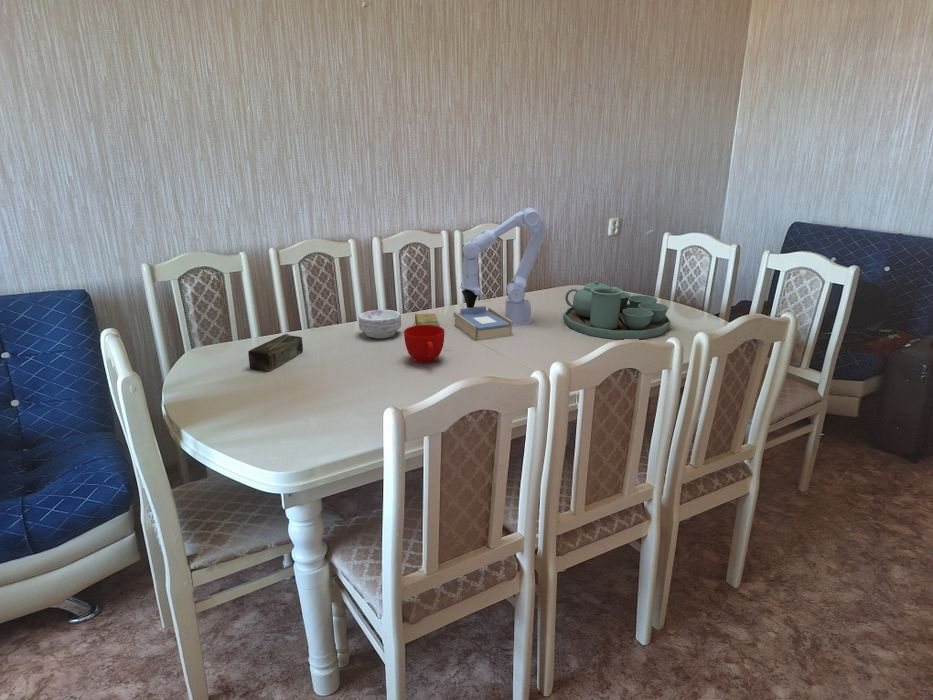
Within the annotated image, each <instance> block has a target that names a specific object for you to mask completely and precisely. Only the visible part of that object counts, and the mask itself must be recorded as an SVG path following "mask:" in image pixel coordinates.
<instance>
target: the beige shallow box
mask: <svg viewBox="0 0 933 700" xmlns="http://www.w3.org/2000/svg"><path fill="white" fill-rule="evenodd" d="M487 309H488V311H489V312H491V313H493V314H494V315H496V316H498V317H499V318H501V319H503V320H504V321H506V322H508V323H509V324H510V326H508V327H500V328H492V329H485V330H477V329H476V326H475V325H474V324H472V323H471V322H469V321H468V320H466V319H465V318H463V317H462V316H460V315H459V314H458V312H455V311H453V312H452V313H453V314H452V315H453V318H454V326H456V327H457V328H458V329H460V330H461V331H463V332H464V333H466V334H467V335H468V336H469V337H471V338H472V339H473V340H475V341H482V340H483V341H484V340H487V339H488V340H489V339H495V338H503V337H511V336H512V335H513V334H512V333H513V331H512V330H513V327H514V325H513V321H512V320H510V319H508V318H506V317H505V315H503V314H501V313H499V312H498V311H496V310H494V309H492V308H491V307H487Z"/></svg>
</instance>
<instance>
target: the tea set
mask: <svg viewBox="0 0 933 700" xmlns="http://www.w3.org/2000/svg"><path fill="white" fill-rule="evenodd" d="M583 287H584V288H580V289H577V288H571V289H569V290H568V291H567V292H566V294H565V298H564V299H565V302H566V304H567V305H568V308H567V309H566V311H565V312H564V313H563V316H562V320H563V321H564V324H566V325H567V327H569V328H570V330H573V331H576V332H579V333H581V334H583V335H587V336H591V337H599V338H605V339H609V340H610V339H613V340H642V339H648V338H652V337H659V336H661V335H662V334H664V333H665V332H666V331H668V330H670V329H669V328H670V327H671V320H670V319H669V317H668V315H667V312H668V310H669V309H670V308H669V306H668V305H666V304H664V303H659V302H658V298H656V297H654V296H651V295H646V294H643V295H640V294H638V295H635V294H633V295H630V294H629V293H628V292H624V290H623V289H621V288H618V287H617V286H609V285H607V284H606V283H602V282H599V280H596V281H594V282H588V283H586V284H584V285H583ZM572 292H574V293H575V294H574V295H573V299H572V303H571V302H570V301H569V295H570V293H572ZM628 301H629V303H628Z"/></svg>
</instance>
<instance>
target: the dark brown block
mask: <svg viewBox="0 0 933 700" xmlns="http://www.w3.org/2000/svg"><path fill="white" fill-rule="evenodd" d="M302 352H303V353H304V347H303V338H302V336H299V335H290V334H289V333H285V334H282V335H280V336H278V337H275V338H273V339H271V340H269V341H266V342H264V343H263V344H260V345H258V346H255V347H254V348H252V349H249V350H248V354H247V355H248V364H249V369H251V370H256V371H257V370H258V371H261V372H262V371H263V372H268V373H269V372H271V371H273V370H275V369H277V368H278V367H280V366H282V365H284V364H286V363H287V362H289V361H291V360H292V359H295V358H296V357H297V356H299V354H300V355H302V354H303V353H302Z"/></svg>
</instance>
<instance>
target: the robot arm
mask: <svg viewBox="0 0 933 700" xmlns="http://www.w3.org/2000/svg"><path fill="white" fill-rule="evenodd" d="M524 226H526V227H527V229H528V231H529V234H530V235H531V236H530V239H529V241H528V243H527V246H526V248H525V250H524V252H523V255H522V257H521V260H520V262H519V265H518V268H517V270H516V272H515V274H514V276H513V277H512V279H511V281H510V282H508V284H507V285H506V287H505V292H506V294H507V297H506V298H505V311H504V312H505V315H504V316H505V317H506V318H508V319H510V320H512V321H513V326H517V325H526V324H528V325H529V324H530V325H531V324H532V321H531V317H532V316H531V315H532V305H531V302H530V301H529V300H528V299H525V296H526V288H527V282H528V279H529V276H530V274H531V271H532V269H533V267H534V264H535V262H536V260H537V257H538V255H539V253H540V251H541V248H542V245H543V242H544V240H545V238H546V232H545V231H546V230H545V226H544V218H543V217H542V215H541V213H540V212H538V210H536V209H535V208H534V207H530V206H529V207H525V208H524V209H523V210H520V211H518V212H516V213H514V215H512V216H510V217H509V218H508V219H506V220H505V221H503V222H501V224H499V225H498V226H496V227H495V228H494V229H486V230H484V229H483V230H481V232H480V234H478V235H477V236H475V238H470V241H467V242H465V243H464V245H463V246H462V253H463V257H462V260H463V261H462V281H460V285H459V288H460V289H462V290H461V293H462V294H463V297H464V300H465V304H466V308H471V307H475V304H476V302H477V301H476V300H477V298H478V297H479V295H481V294H482V293H481V292H482V291H481V290H482V289H481V288H480V286H479V261H478V257H479V254H480V253H483V252H484V251H486V250H487V249H488V248H490V247H491V246H493V245H494V244H496V243H497V238H499V237H501V236H502V235H504V234H506V233H507V232H509V231H510V230H512V229H514V228H516V227H517V228H518V227H519V228H523V227H524Z"/></svg>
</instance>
